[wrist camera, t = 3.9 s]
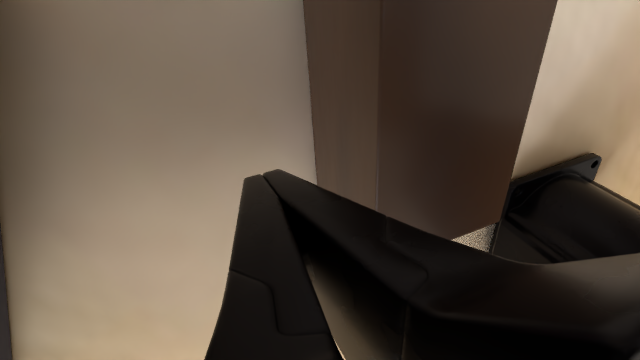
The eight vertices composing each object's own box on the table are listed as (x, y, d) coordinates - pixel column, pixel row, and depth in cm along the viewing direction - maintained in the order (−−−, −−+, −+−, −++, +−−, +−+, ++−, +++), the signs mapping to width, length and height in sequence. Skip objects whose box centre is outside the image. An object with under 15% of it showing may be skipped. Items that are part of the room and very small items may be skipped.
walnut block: (445, -51, 13) (569, -41, 9) (422, 161, 17) (500, 222, 14) (299, -34, 11) (382, -13, 8) (317, 193, 16) (374, 270, 12)
